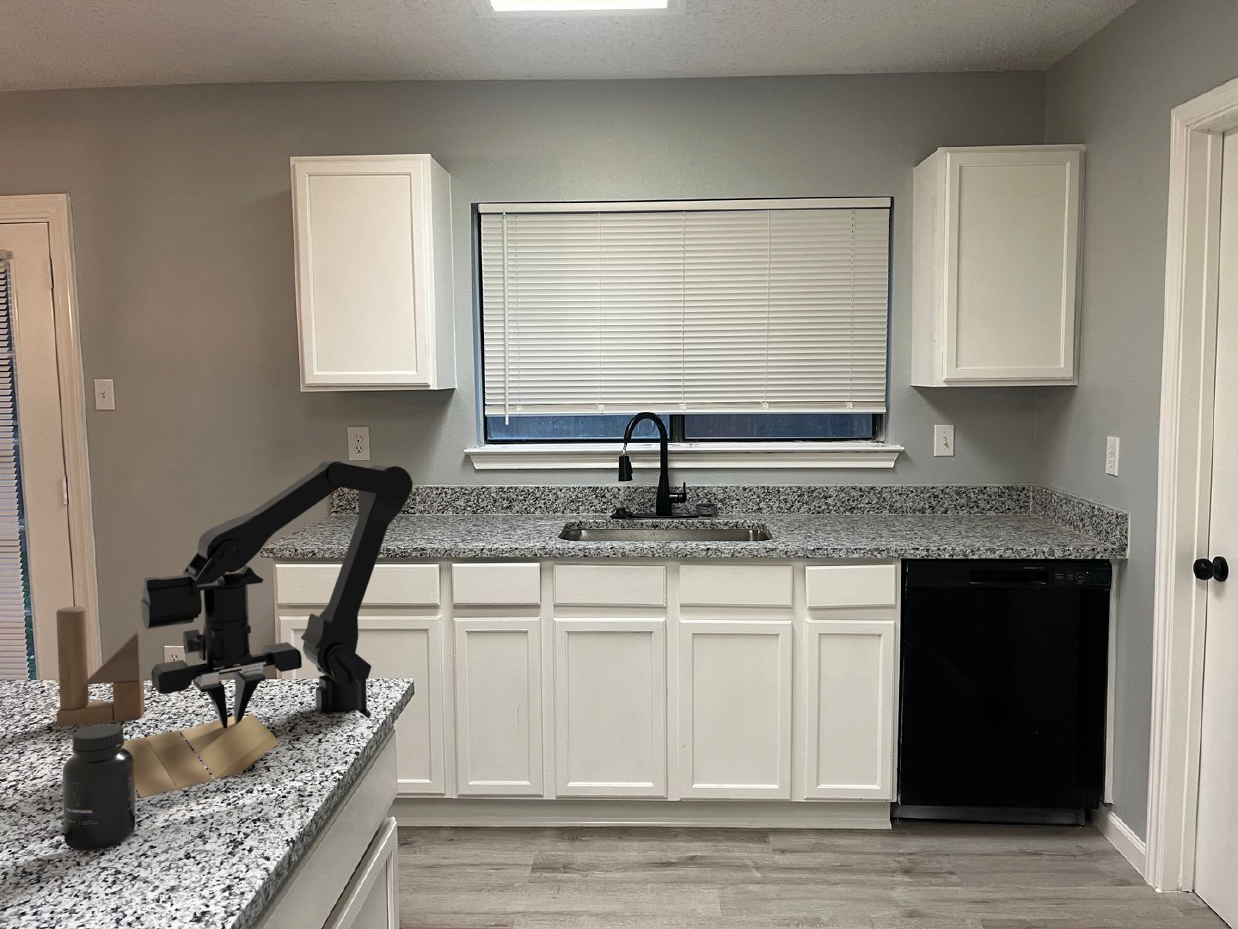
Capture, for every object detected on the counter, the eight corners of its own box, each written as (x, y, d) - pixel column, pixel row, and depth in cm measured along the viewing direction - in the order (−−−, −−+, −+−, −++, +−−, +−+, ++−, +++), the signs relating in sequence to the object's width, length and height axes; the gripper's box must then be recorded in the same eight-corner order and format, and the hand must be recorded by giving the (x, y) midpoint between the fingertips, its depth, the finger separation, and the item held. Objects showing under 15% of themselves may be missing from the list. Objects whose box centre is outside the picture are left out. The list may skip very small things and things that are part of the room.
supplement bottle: (61, 858, 93) (56, 747, 92) (67, 830, 99) (63, 725, 98) (136, 843, 96) (132, 736, 96) (137, 817, 103) (133, 715, 102)
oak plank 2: (257, 721, 122) (251, 713, 121) (278, 742, 114) (272, 733, 114) (203, 762, 118) (197, 753, 117) (222, 786, 110) (215, 778, 110)
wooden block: (141, 728, 130) (137, 607, 129) (56, 737, 127) (51, 612, 125) (145, 720, 134) (141, 601, 132) (63, 728, 130) (58, 607, 129)
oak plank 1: (241, 724, 130) (240, 714, 130) (260, 744, 123) (258, 733, 122) (182, 741, 125) (180, 731, 125) (197, 763, 118) (196, 752, 118)
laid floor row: (177, 741, 125) (177, 730, 125) (214, 792, 109) (214, 780, 109) (113, 754, 121) (112, 743, 120) (141, 810, 104) (140, 797, 104)
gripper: (277, 597, 137) (280, 697, 138) (141, 616, 125) (146, 724, 127) (301, 611, 128) (304, 717, 129) (157, 633, 116) (162, 749, 118)
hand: (231, 726), depth 126 cm, fingers closed on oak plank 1
